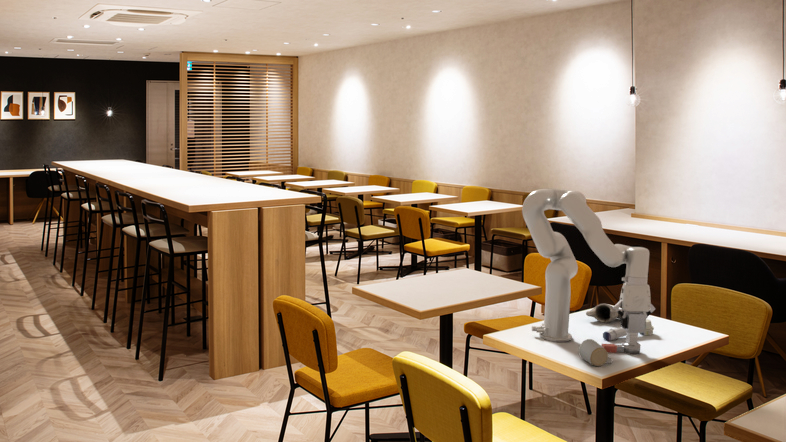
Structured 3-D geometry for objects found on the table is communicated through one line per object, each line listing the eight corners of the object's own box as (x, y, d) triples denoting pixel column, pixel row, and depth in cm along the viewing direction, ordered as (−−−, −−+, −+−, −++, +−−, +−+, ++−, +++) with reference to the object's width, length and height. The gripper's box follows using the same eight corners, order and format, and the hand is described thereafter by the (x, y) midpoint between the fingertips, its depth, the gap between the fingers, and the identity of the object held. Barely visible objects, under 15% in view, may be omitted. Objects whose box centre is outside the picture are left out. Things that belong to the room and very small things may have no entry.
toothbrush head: (601, 329, 240) (646, 314, 251) (601, 345, 242) (646, 329, 252) (611, 333, 236) (656, 318, 246) (611, 349, 237) (656, 333, 247)
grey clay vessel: (598, 335, 270) (590, 325, 259) (590, 318, 276) (582, 307, 264) (633, 321, 266) (627, 310, 254) (624, 303, 271) (618, 292, 260)
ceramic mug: (590, 368, 208) (592, 346, 207) (577, 359, 216) (579, 339, 215) (617, 366, 211) (619, 345, 210) (603, 358, 219) (605, 337, 218)
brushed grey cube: (628, 332, 222) (629, 314, 221) (621, 327, 228) (622, 309, 227) (644, 332, 222) (645, 314, 221) (637, 327, 228) (638, 309, 227)
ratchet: (605, 354, 223) (607, 333, 222) (599, 348, 229) (600, 327, 228) (642, 354, 223) (644, 333, 222) (635, 348, 229) (637, 328, 228)
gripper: (617, 282, 219) (613, 330, 221) (664, 283, 219) (660, 331, 221) (609, 277, 226) (606, 324, 228) (654, 278, 227) (651, 325, 229)
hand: (632, 327), depth 225 cm, fingers closed on brushed grey cube, 6 cm apart
